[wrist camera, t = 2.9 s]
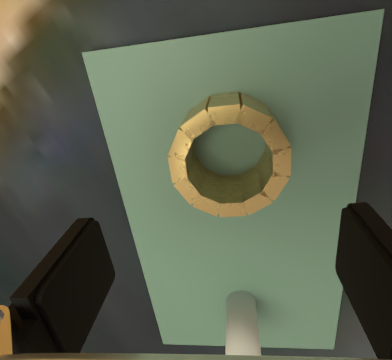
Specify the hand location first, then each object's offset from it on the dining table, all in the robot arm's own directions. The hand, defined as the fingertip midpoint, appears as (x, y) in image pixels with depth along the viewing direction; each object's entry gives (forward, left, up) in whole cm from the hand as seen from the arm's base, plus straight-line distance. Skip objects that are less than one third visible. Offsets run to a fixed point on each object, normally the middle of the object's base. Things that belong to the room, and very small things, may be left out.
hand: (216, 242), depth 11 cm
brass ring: (0, 0, -10) cm, 10 cm away
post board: (+8, 0, -12) cm, 14 cm away
